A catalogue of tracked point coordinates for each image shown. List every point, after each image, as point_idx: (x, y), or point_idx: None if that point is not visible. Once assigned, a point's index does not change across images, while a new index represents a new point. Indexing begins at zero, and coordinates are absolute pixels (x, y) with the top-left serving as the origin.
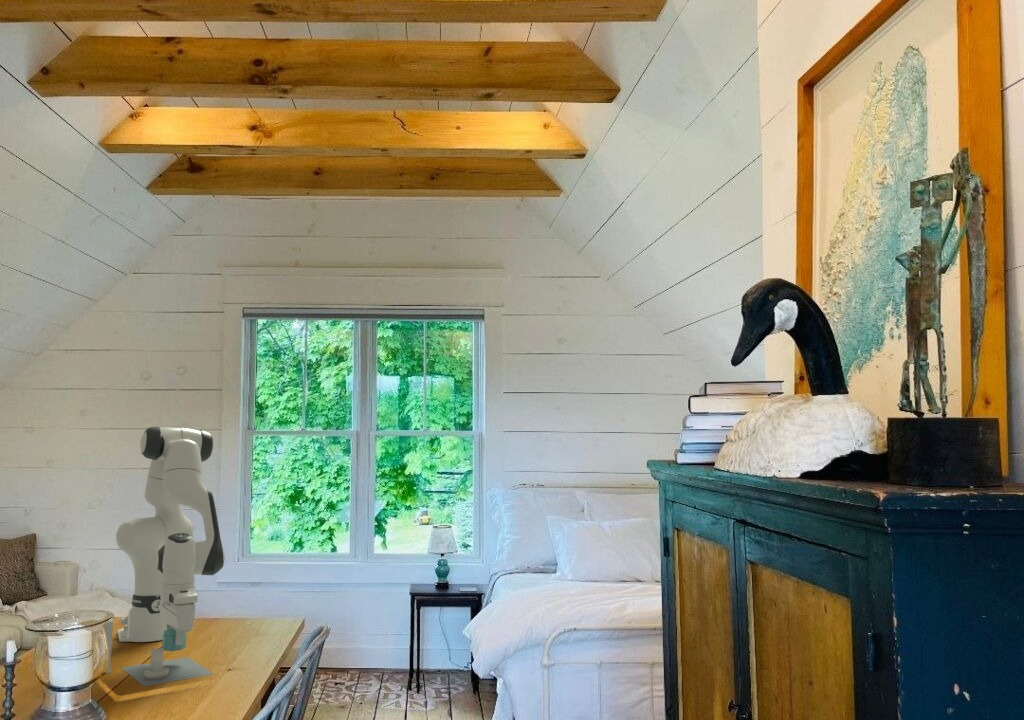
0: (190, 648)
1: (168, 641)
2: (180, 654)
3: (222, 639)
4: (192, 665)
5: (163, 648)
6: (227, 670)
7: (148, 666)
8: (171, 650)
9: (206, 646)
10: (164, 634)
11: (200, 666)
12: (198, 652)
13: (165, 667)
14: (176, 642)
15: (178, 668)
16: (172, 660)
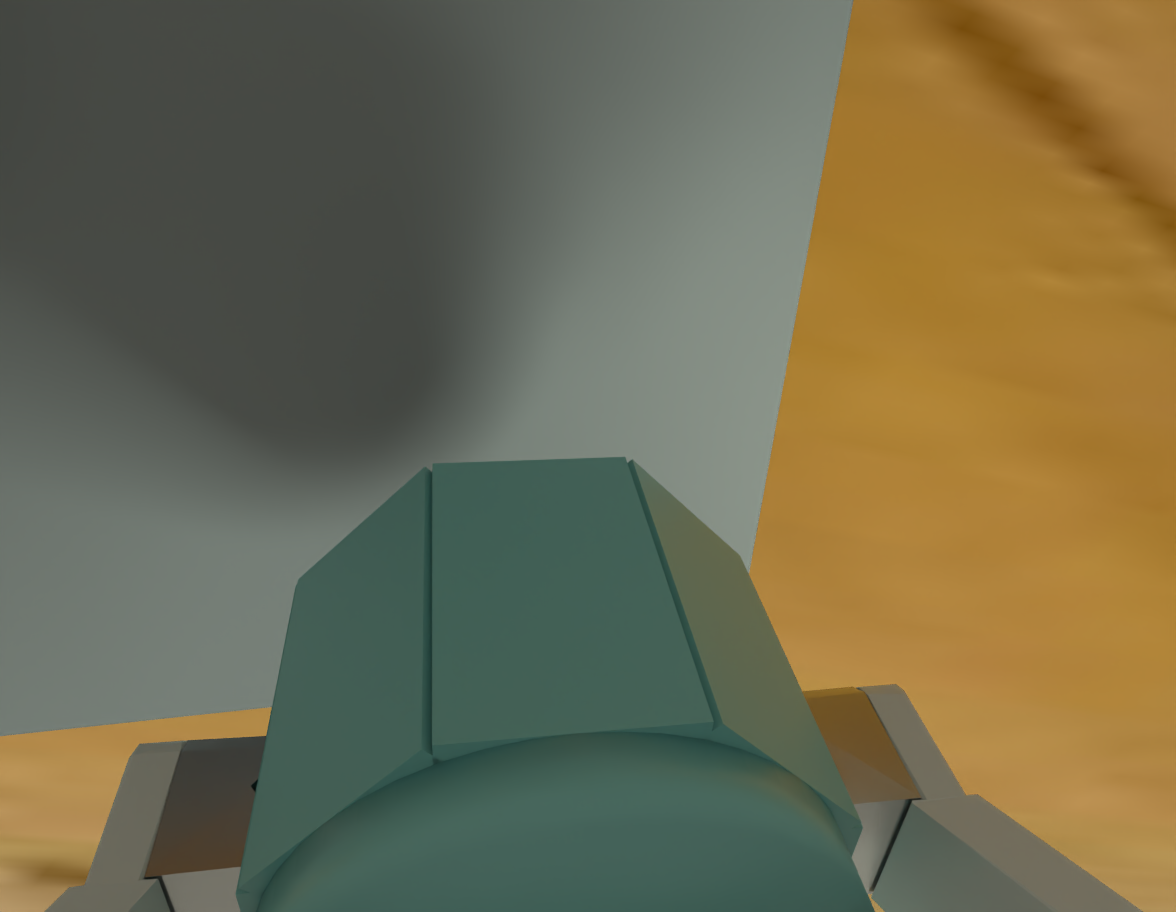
0: (1164, 710)
1: (349, 683)
2: (1055, 611)
3: (1161, 903)
4: (258, 643)
5: (493, 481)
6: (33, 859)
7: (613, 101)
8: (310, 579)
9: (1091, 809)
10: (529, 767)
11: (141, 706)
12: (967, 742)
13: (356, 329)
14: (124, 805)
15: (173, 474)
16: (709, 495)
